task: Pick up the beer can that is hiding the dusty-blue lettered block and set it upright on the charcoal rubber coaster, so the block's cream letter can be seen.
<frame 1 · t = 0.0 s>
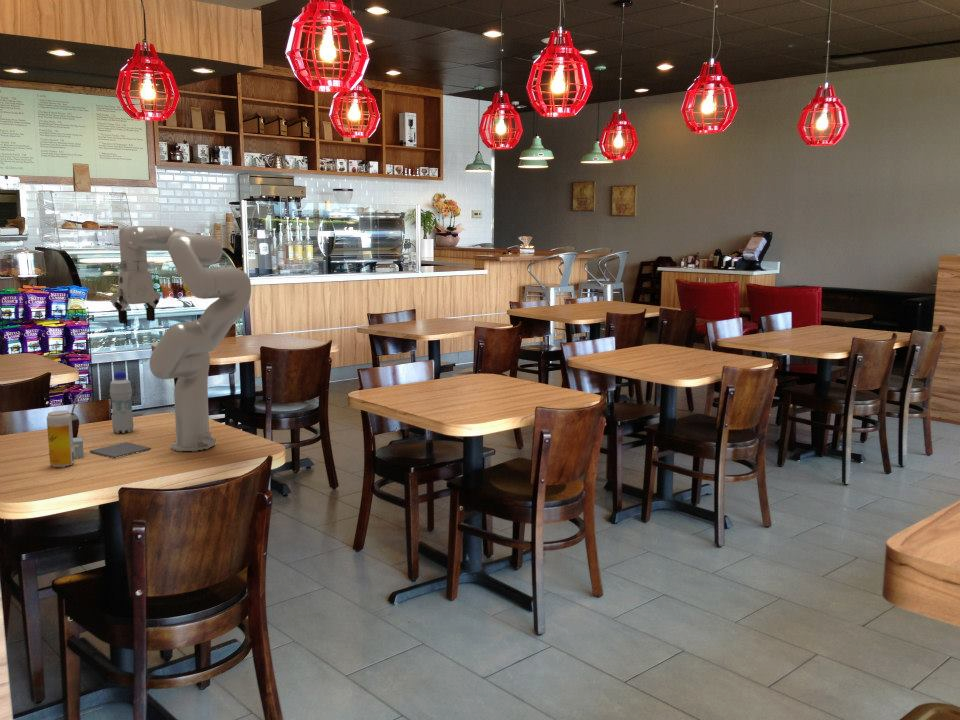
hand: (137, 321, 252), 37 cm above the table, tool pointing down, fingers open, 9 cm apart
beer can: (62, 465, 225), on the table
letter block: (74, 456, 234), on the table
mate gourd: (69, 439, 254), on the table
bottle: (123, 432, 263), on the table
coaster: (120, 451, 240), on the table
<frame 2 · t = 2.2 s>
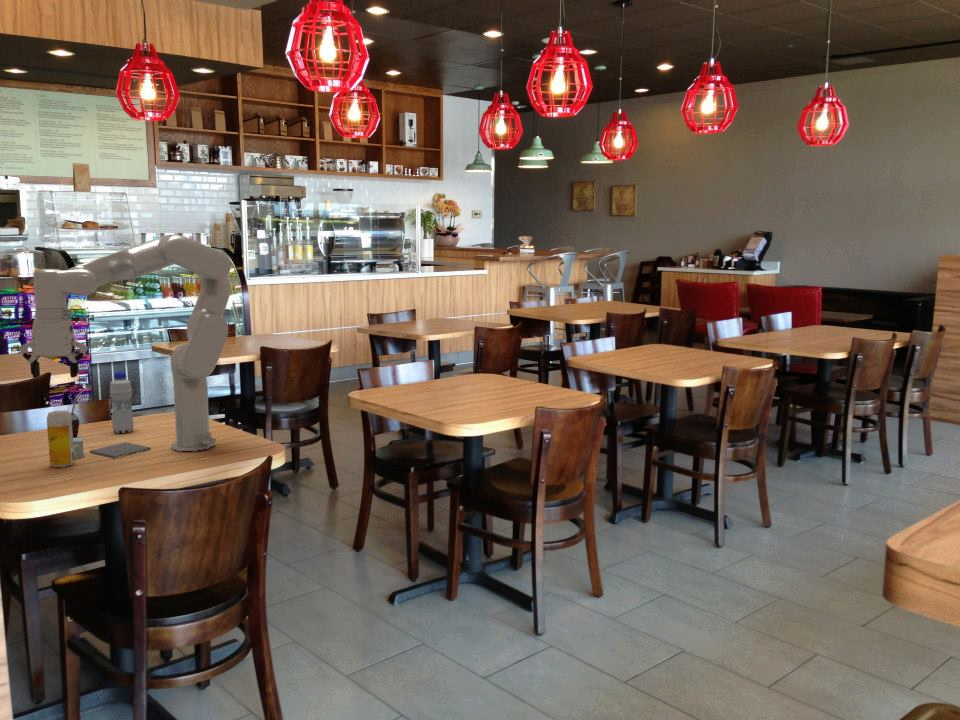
hand: (55, 376, 221), 25 cm above the table, tool pointing down, fingers open, 9 cm apart
nothing on the table moved.
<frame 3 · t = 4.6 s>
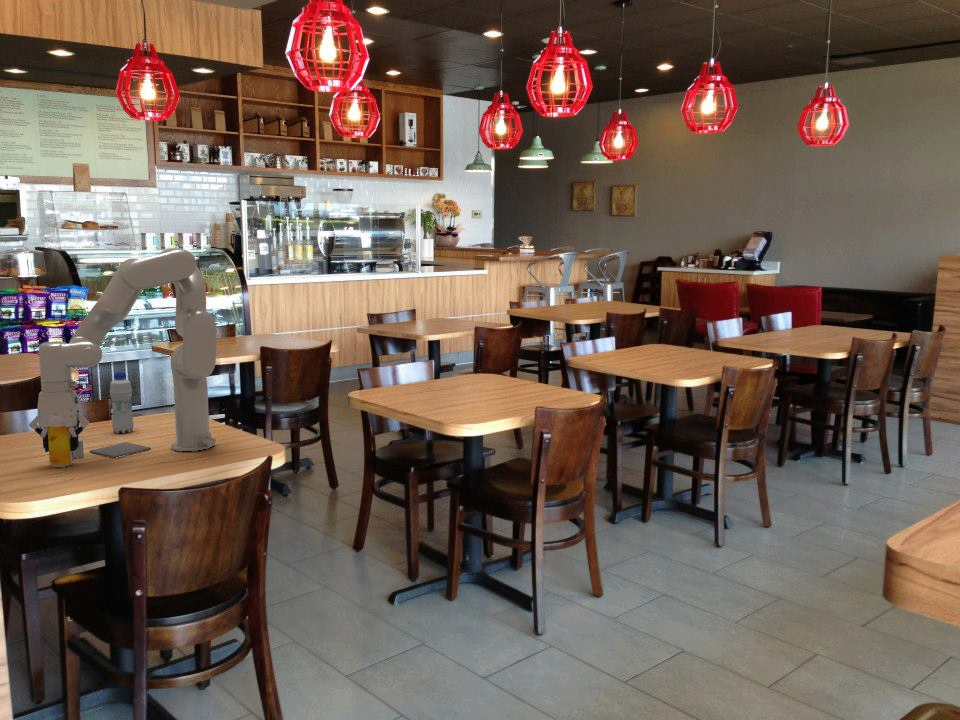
hand: (61, 449, 224), 4 cm above the table, tool pointing down, fingers closed on beer can, 6 cm apart
beer can: (62, 465, 225), on the table, touching gripper
everything else where it was.
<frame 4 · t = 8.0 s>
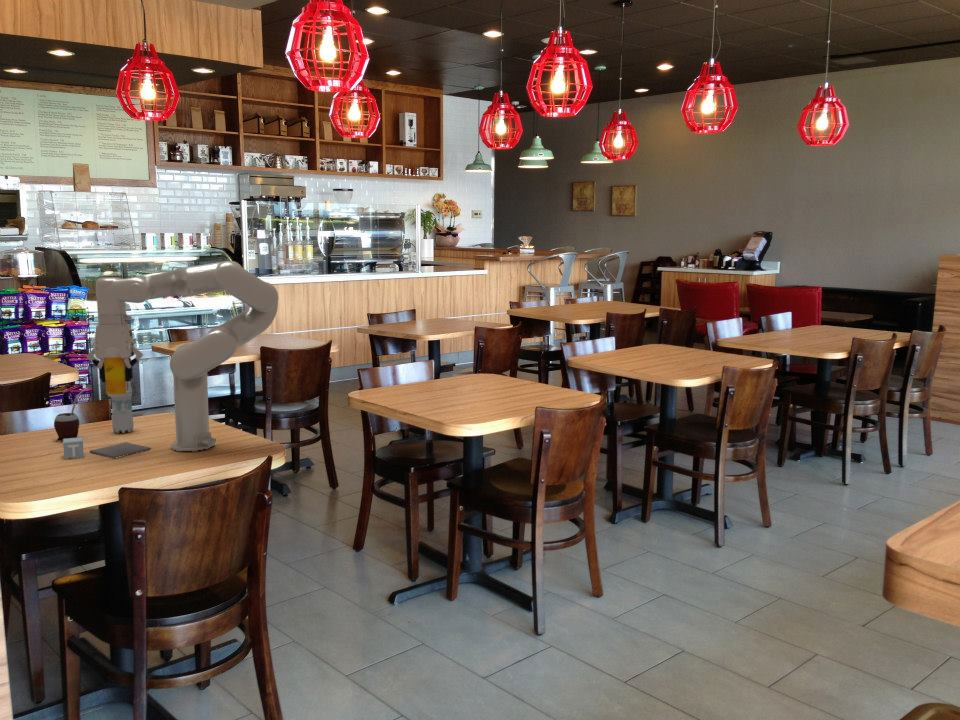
hand: (116, 380, 237), 21 cm above the table, tool pointing down, fingers closed on beer can, 6 cm apart
beer can: (117, 396, 238), point 17 cm above the table, touching gripper
everything else where it was.
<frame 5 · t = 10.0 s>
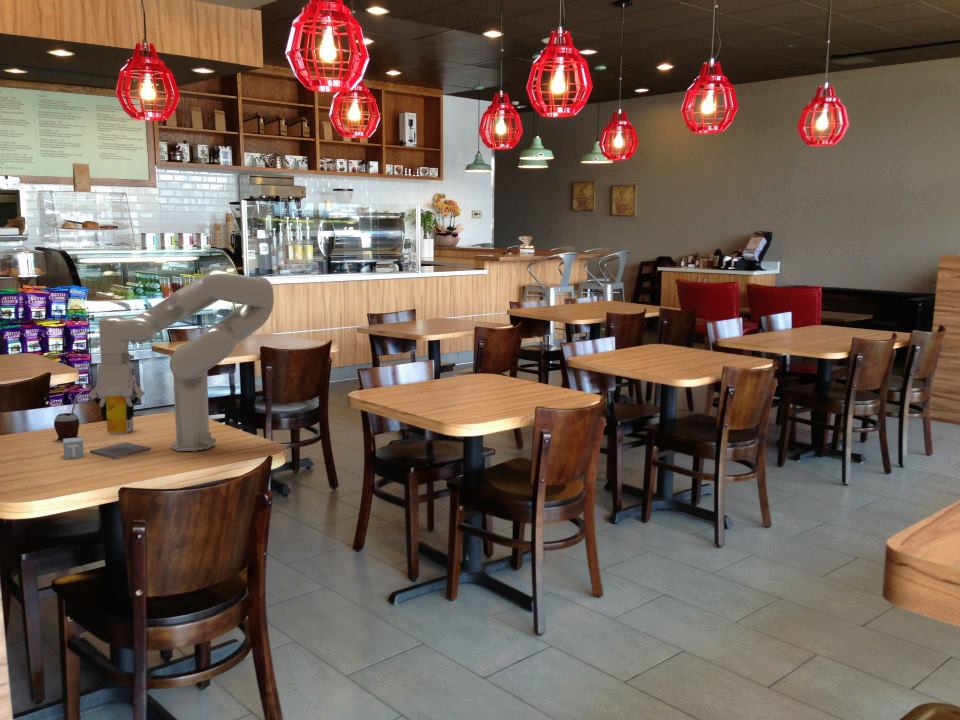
hand: (117, 418, 239), 10 cm above the table, tool pointing down, fingers closed on beer can, 6 cm apart
beer can: (118, 433, 239), point 5 cm above the table, touching gripper
everything else where it was.
when the fingers open (6 cm above the table, at t = 11.7 s): beer can drops 1 cm, resting on coaster.
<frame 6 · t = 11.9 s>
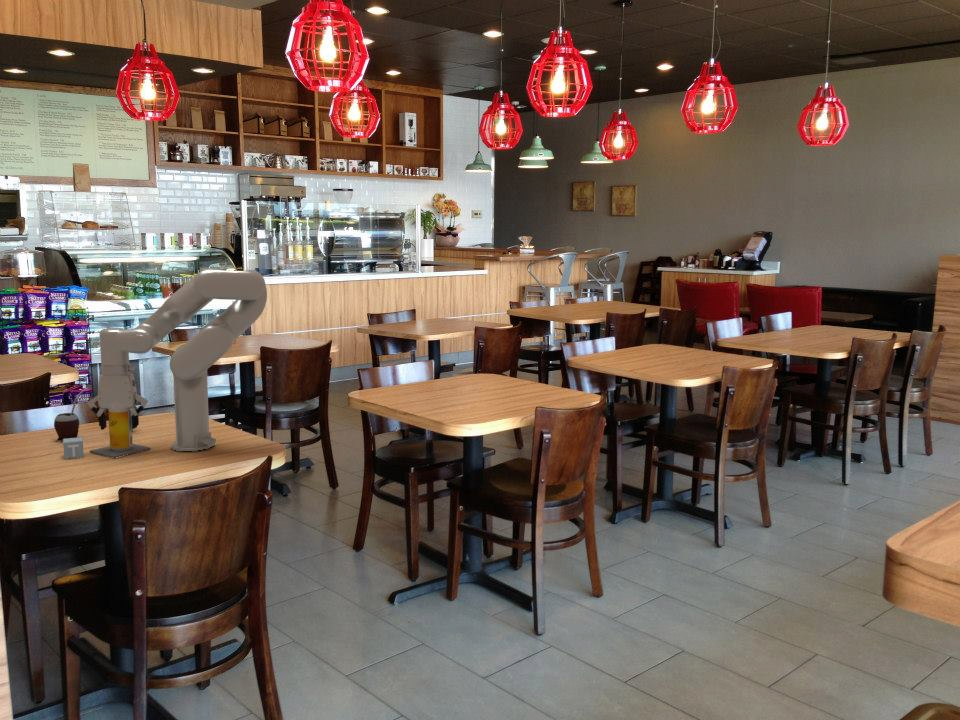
hand: (119, 428, 239), 7 cm above the table, tool pointing down, fingers open, 8 cm apart
beer can: (121, 449, 240), resting on coaster
everything else where it was.
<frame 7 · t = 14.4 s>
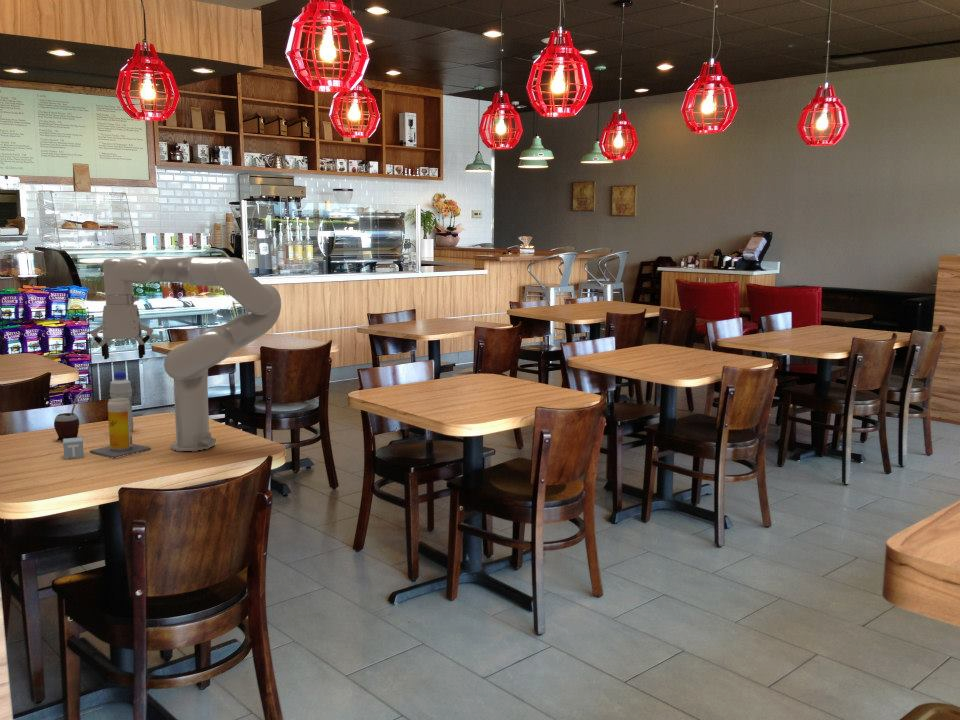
hand: (124, 358, 240), 27 cm above the table, tool pointing down, fingers open, 9 cm apart
nothing on the table moved.
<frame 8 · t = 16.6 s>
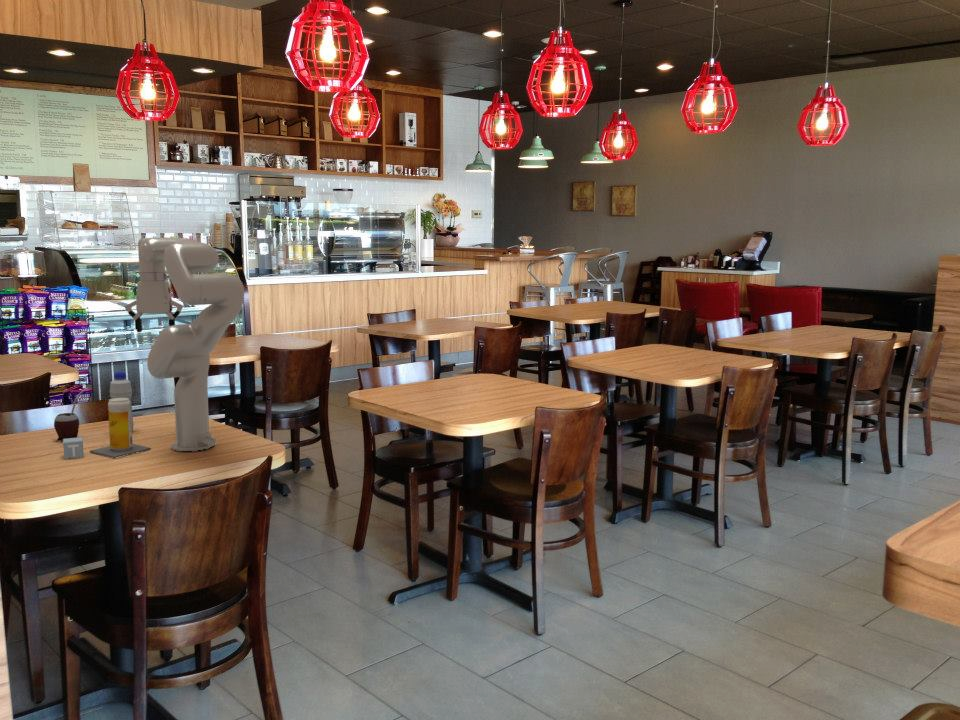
hand: (155, 331, 256), 33 cm above the table, tool pointing down, fingers open, 9 cm apart
nothing on the table moved.
at the end: beer can 0.3 cm off-centre on the coaster, point 0.4 cm above the coaster's base; beer can tilted 1°; letter block moved 0.1 cm from its start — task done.
